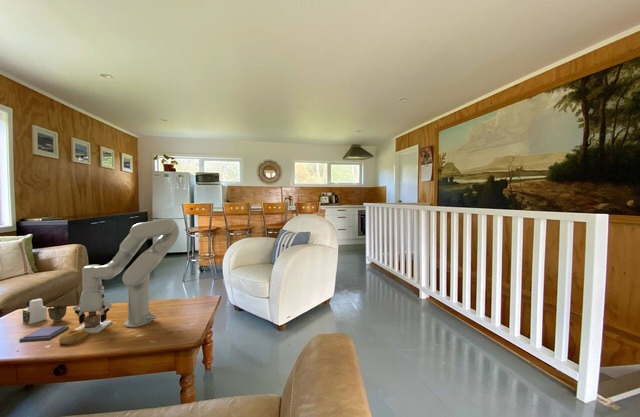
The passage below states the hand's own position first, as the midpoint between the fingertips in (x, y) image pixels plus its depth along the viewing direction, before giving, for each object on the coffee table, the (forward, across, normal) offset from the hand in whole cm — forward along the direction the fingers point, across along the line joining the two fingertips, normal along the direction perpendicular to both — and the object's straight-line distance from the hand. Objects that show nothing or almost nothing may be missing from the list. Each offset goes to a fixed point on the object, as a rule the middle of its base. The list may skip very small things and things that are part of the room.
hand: (92, 322), depth 138 cm
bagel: (+4, +1, +12) cm, 12 cm away
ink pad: (+3, +18, +4) cm, 19 cm away
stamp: (+2, 0, 0) cm, 2 cm away
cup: (+3, +24, -12) cm, 27 cm away
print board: (+3, 0, 0) cm, 3 cm away
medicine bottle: (+3, +37, -15) cm, 40 cm away
